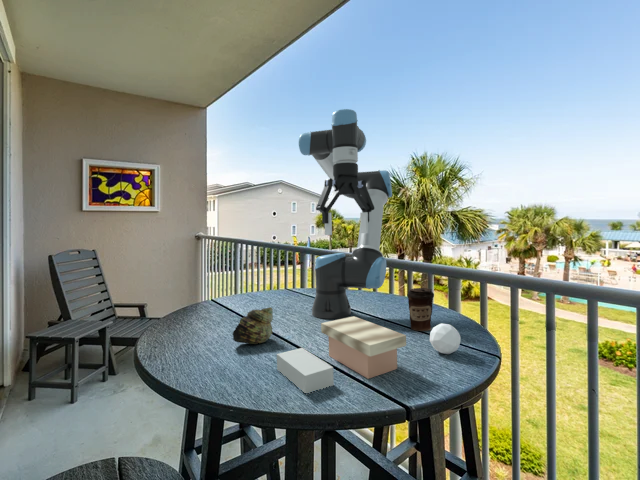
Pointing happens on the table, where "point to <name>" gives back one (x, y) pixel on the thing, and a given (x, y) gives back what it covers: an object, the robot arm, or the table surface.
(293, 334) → the table surface
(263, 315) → the seashell
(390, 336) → the board
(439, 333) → the geometric ball
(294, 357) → the rubber block
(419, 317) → the coffee cup
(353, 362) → the terracotta dish
